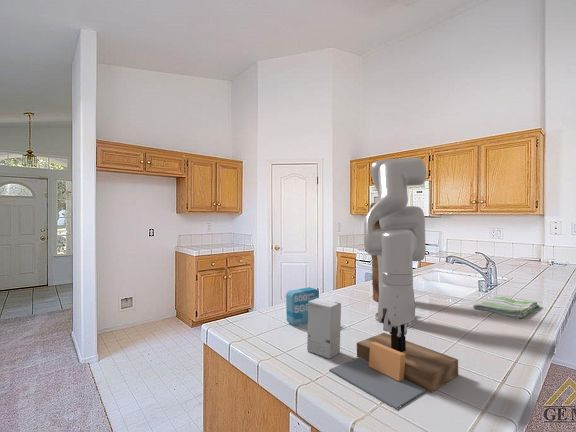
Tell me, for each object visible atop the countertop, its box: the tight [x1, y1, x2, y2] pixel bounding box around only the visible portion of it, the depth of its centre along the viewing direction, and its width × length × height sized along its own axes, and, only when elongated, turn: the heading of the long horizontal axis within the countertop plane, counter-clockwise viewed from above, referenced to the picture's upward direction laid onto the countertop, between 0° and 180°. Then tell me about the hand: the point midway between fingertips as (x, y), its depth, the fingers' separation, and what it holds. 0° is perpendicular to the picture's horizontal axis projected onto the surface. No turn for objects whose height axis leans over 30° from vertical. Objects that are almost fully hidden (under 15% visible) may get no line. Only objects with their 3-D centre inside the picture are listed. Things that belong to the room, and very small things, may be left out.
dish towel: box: [472, 296, 540, 320], centre depth 129 cm, size 17×23×4 cm
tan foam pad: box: [369, 342, 406, 381], centre depth 78 cm, size 9×6×2 cm
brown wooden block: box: [356, 332, 459, 393], centre depth 82 cm, size 12×22×4 cm, turn 35°
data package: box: [285, 286, 320, 327], centre depth 117 cm, size 12×4×12 cm, turn 121°
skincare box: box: [306, 297, 342, 359], centre depth 91 cm, size 8×6×15 cm
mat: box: [328, 357, 427, 410], centre depth 75 cm, size 11×20×1 cm, turn 35°
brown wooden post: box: [369, 202, 381, 303], centre depth 144 cm, size 10×11×45 cm
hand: (398, 349), depth 81 cm, fingers closed
